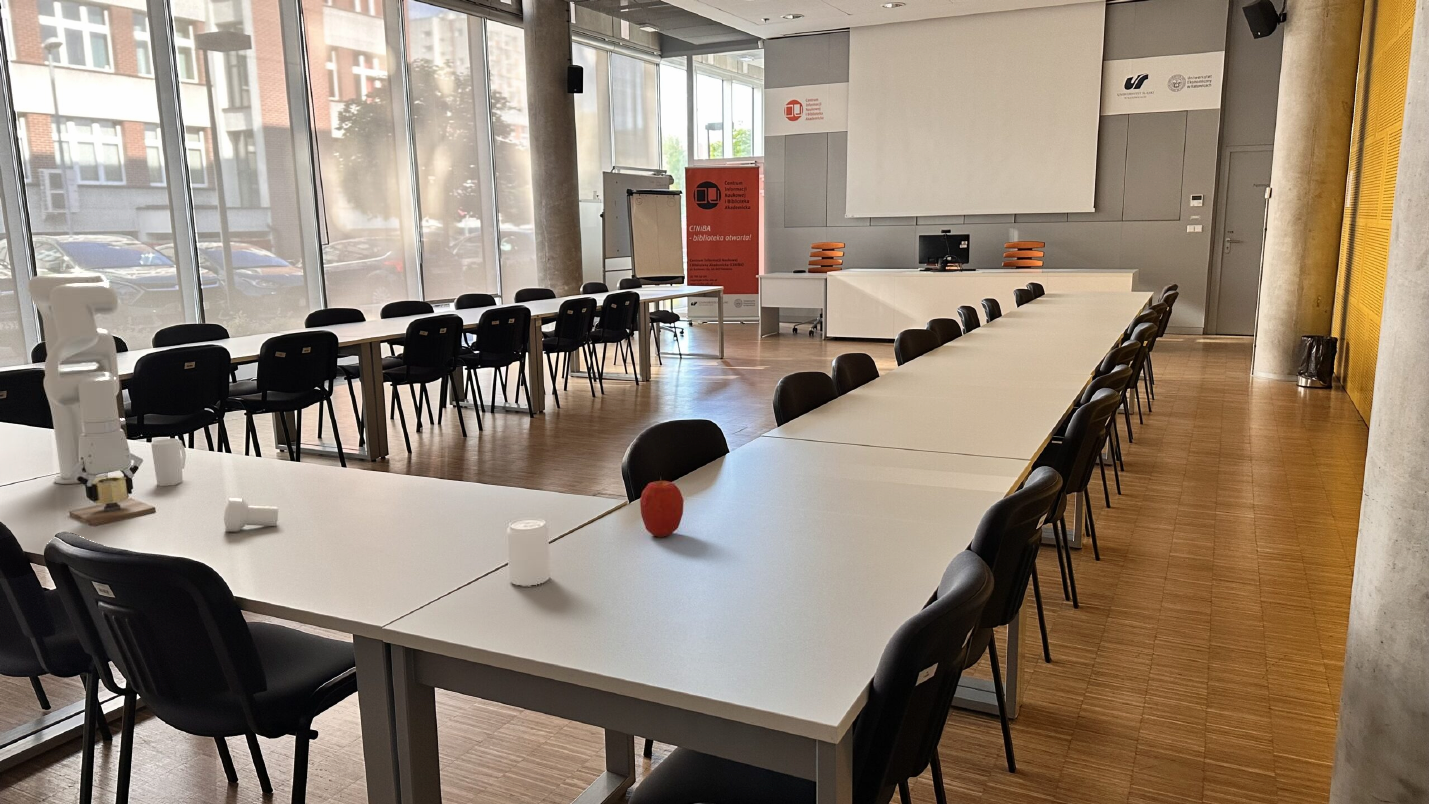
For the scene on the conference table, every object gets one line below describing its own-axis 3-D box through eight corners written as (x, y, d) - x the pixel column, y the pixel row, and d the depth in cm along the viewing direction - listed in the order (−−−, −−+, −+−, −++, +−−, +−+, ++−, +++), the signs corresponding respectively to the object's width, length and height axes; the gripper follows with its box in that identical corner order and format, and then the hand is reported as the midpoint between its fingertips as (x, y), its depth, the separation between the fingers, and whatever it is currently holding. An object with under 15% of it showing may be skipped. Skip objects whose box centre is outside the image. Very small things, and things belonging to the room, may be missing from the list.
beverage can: (511, 573, 190) (509, 517, 188) (551, 572, 190) (549, 516, 188) (506, 589, 182) (503, 530, 180) (548, 587, 183) (545, 529, 180)
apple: (667, 545, 206) (666, 485, 204) (631, 537, 211) (629, 478, 209) (692, 532, 215) (692, 474, 212) (657, 525, 220) (656, 468, 217)
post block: (69, 515, 230) (65, 483, 228) (131, 502, 241) (127, 471, 239) (93, 526, 221) (88, 493, 220) (155, 511, 232) (152, 480, 231)
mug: (171, 486, 255) (166, 444, 253) (150, 485, 256) (145, 443, 254) (198, 477, 264) (193, 436, 262) (177, 476, 266) (172, 435, 263)
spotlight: (222, 521, 220) (227, 490, 218) (275, 523, 226) (279, 493, 224) (221, 537, 214) (226, 506, 212) (275, 539, 219) (280, 508, 217)
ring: (89, 500, 230) (86, 480, 229) (120, 493, 235) (118, 474, 234) (101, 505, 225) (98, 485, 224) (133, 498, 231) (131, 479, 230)
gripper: (133, 419, 236) (141, 486, 239) (54, 431, 222) (64, 502, 225) (146, 422, 232) (155, 491, 235) (67, 435, 218) (77, 508, 221)
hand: (110, 496), depth 230 cm, fingers closed on ring, 7 cm apart
